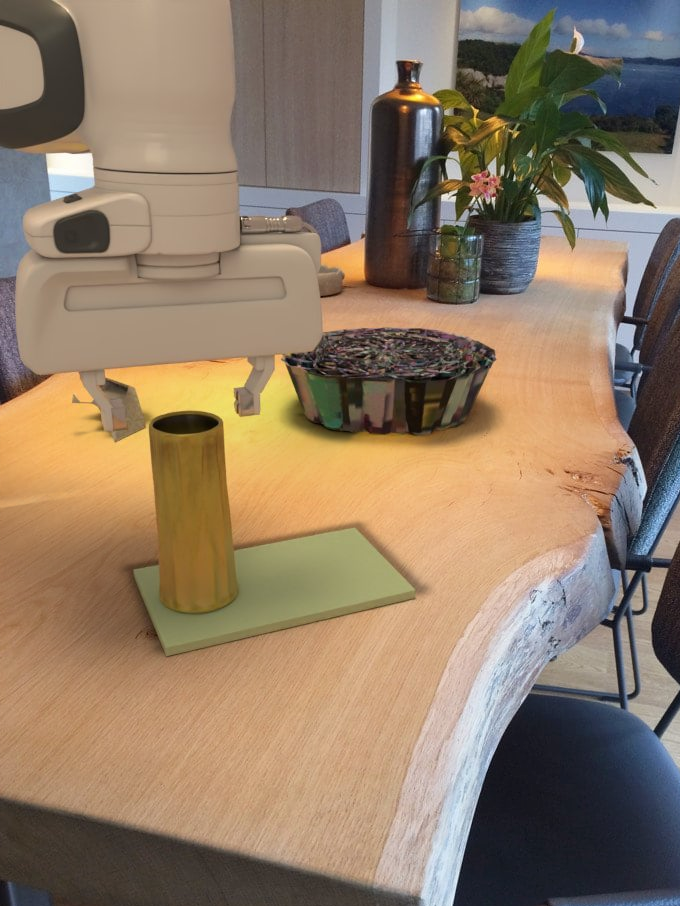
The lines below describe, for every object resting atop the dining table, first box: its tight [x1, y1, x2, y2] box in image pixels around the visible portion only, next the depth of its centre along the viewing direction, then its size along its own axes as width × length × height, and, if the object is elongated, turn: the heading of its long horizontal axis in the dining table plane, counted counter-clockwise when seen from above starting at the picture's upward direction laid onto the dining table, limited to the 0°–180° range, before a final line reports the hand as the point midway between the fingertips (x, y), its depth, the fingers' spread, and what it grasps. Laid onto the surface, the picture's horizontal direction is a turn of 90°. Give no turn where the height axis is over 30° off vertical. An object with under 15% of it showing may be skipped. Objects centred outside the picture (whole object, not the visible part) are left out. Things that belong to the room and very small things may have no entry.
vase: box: [148, 410, 238, 614], centre depth 62 cm, size 6×6×14 cm
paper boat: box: [71, 372, 146, 443], centre depth 99 cm, size 12×6×9 cm
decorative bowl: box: [280, 326, 497, 437], centre depth 106 cm, size 26×28×10 cm
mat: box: [133, 527, 417, 657], centre depth 67 cm, size 20×12×1 cm, turn 115°
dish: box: [317, 264, 346, 297], centre depth 178 cm, size 14×14×5 cm
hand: (183, 421), depth 59 cm, fingers open, 8 cm apart
